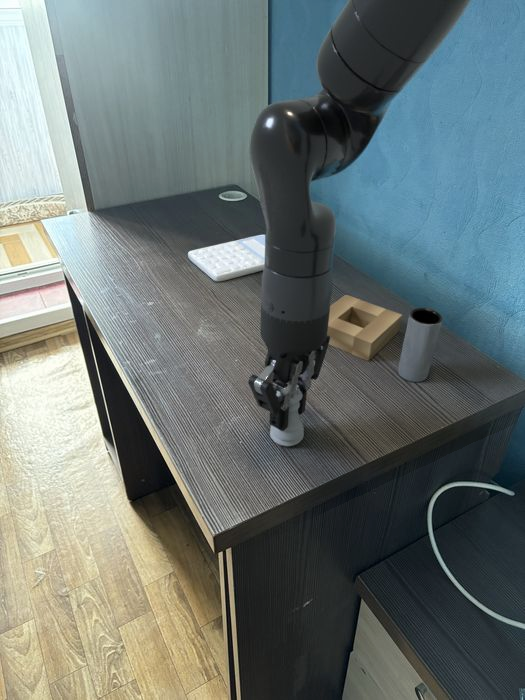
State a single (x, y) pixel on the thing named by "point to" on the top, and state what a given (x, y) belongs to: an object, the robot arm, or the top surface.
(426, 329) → the planter
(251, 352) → the top surface
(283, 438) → the rook chess piece
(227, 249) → the calculator
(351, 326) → the holder
